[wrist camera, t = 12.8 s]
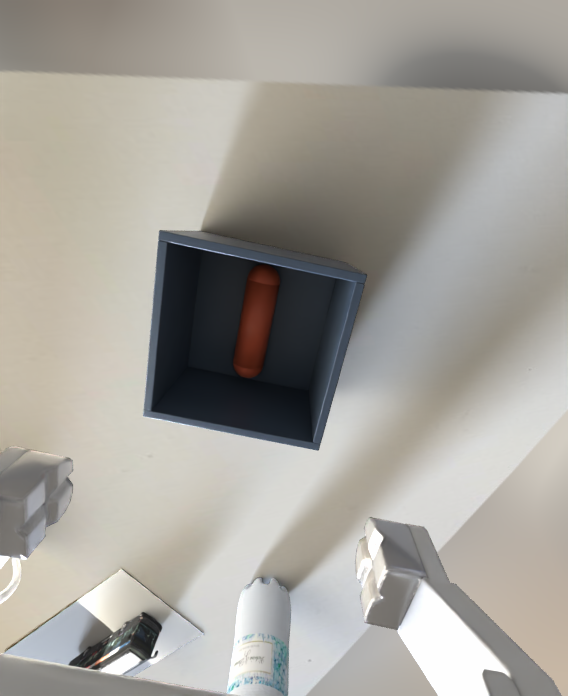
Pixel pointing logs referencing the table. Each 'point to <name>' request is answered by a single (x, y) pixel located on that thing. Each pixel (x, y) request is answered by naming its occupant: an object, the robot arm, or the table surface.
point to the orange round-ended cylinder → (256, 320)
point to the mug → (15, 581)
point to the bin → (222, 329)
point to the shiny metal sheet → (110, 630)
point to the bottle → (261, 641)
